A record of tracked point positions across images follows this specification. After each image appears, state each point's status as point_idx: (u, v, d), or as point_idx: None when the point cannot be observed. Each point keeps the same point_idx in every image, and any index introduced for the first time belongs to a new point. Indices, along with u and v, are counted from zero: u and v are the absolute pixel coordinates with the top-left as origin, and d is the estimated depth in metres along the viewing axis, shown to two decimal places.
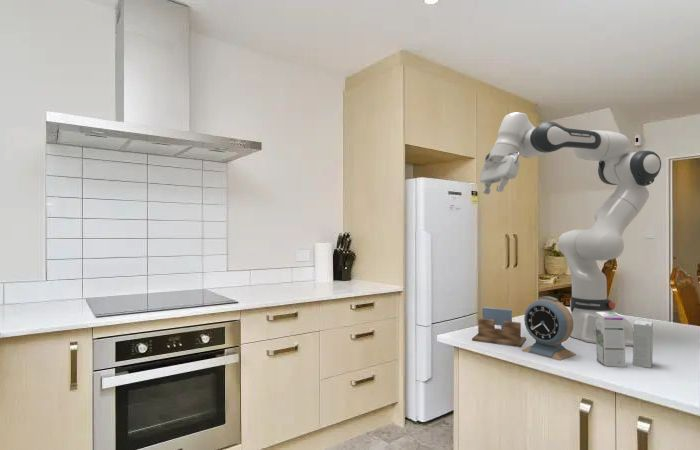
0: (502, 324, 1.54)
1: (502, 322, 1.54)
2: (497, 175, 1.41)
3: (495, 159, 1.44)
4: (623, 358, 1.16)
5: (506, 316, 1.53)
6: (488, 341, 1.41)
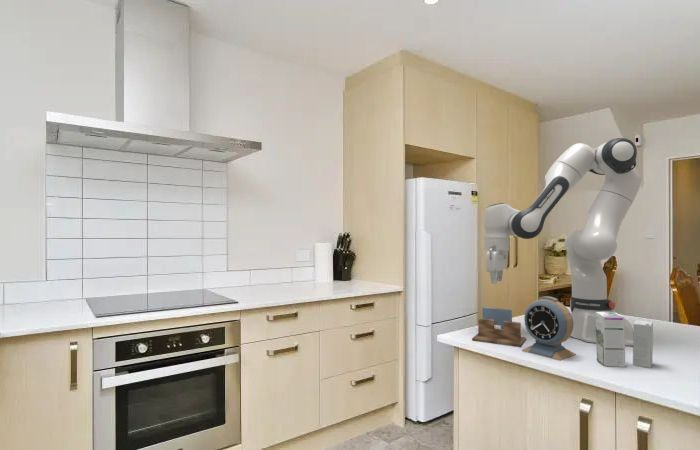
0: (502, 324, 1.54)
1: (502, 322, 1.54)
2: None
3: None
4: (623, 358, 1.16)
5: (506, 316, 1.53)
6: (488, 341, 1.41)
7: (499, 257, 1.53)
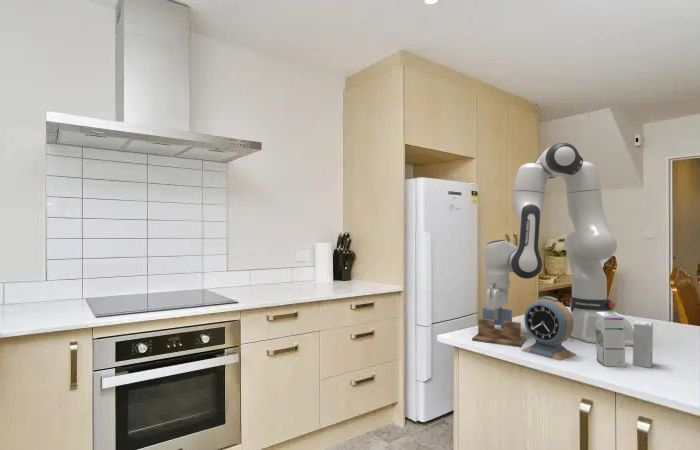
0: (502, 324, 1.54)
1: (502, 322, 1.54)
2: None
3: (488, 289, 1.57)
4: (623, 358, 1.16)
5: (506, 316, 1.53)
6: (488, 341, 1.41)
7: (499, 294, 1.53)
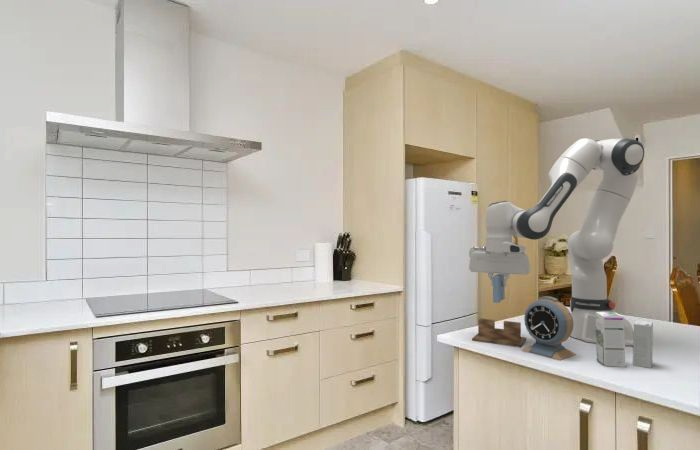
0: None
1: None
2: None
3: None
4: (623, 358, 1.16)
5: None
6: (488, 341, 1.41)
7: (490, 258, 1.45)
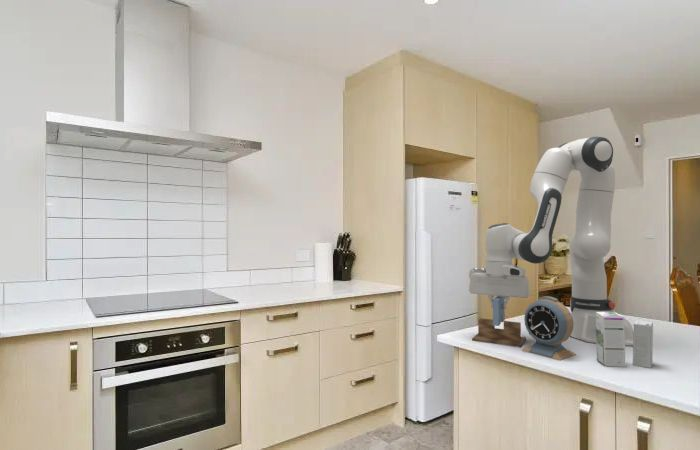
0: None
1: None
2: None
3: None
4: (623, 358, 1.16)
5: None
6: (488, 341, 1.41)
7: (490, 281, 1.45)
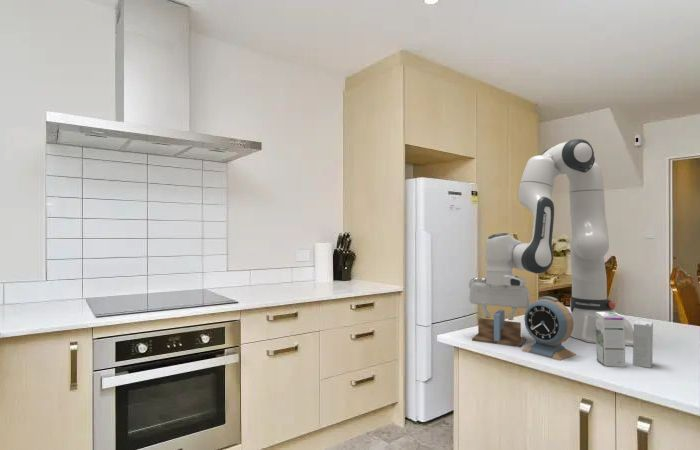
0: None
1: None
2: None
3: None
4: (623, 358, 1.16)
5: None
6: (488, 341, 1.41)
7: (490, 291, 1.45)
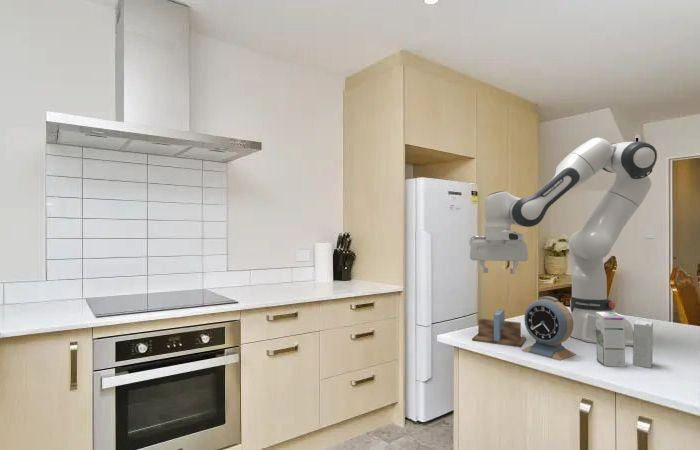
0: None
1: None
2: None
3: None
4: (623, 358, 1.16)
5: None
6: (488, 341, 1.41)
7: (490, 247, 1.51)
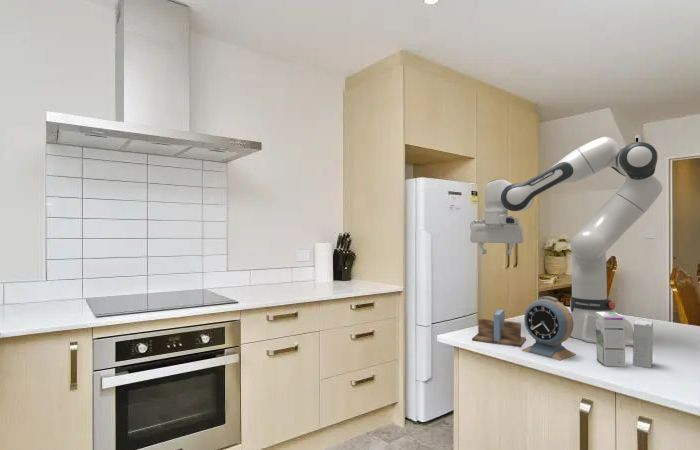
0: None
1: None
2: None
3: None
4: (623, 358, 1.16)
5: None
6: (488, 341, 1.41)
7: (489, 230, 1.65)
